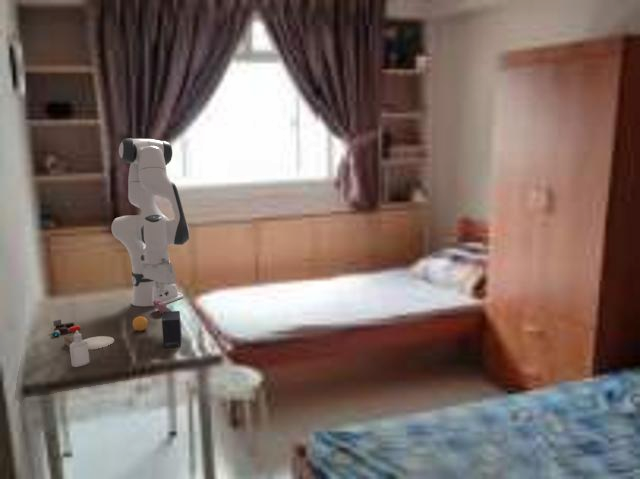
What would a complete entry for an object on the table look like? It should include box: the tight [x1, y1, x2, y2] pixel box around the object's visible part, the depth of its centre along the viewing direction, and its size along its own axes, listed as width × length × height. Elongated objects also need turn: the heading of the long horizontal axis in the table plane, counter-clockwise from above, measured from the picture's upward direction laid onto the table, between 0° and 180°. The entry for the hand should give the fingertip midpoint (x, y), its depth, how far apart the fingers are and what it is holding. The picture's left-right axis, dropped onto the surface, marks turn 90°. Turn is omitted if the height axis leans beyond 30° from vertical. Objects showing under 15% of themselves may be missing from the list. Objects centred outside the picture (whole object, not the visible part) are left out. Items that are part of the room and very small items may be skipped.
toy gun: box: [52, 319, 81, 338], centre depth 244 cm, size 10×12×5 cm
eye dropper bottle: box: [69, 330, 90, 368], centre depth 210 cm, size 4×6×12 cm
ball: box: [132, 315, 149, 332], centre depth 242 cm, size 6×6×6 cm
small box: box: [161, 310, 182, 349], centre depth 228 cm, size 11×6×10 cm, turn 12°
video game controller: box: [152, 299, 172, 315], centre depth 263 cm, size 10×5×7 cm, turn 28°
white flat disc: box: [83, 335, 115, 351], centre depth 231 cm, size 13×13×1 cm
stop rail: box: [63, 334, 74, 348], centre depth 226 cm, size 2×14×3 cm, turn 42°
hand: (160, 292), depth 246 cm, fingers closed
